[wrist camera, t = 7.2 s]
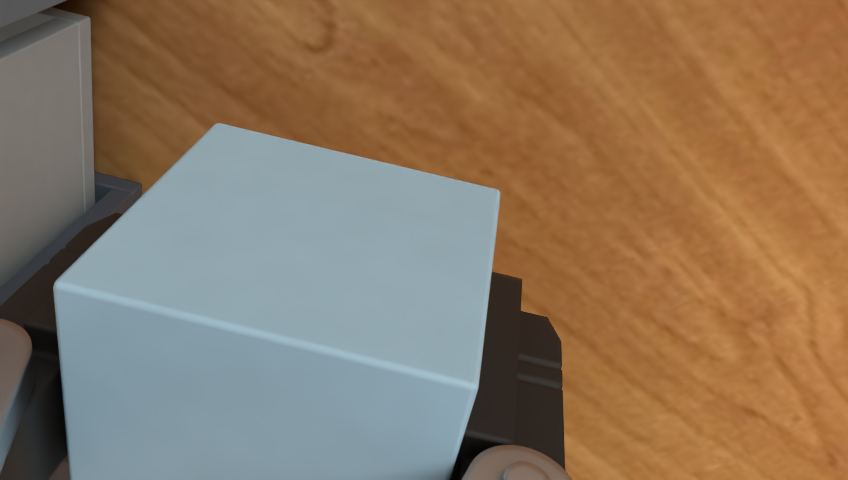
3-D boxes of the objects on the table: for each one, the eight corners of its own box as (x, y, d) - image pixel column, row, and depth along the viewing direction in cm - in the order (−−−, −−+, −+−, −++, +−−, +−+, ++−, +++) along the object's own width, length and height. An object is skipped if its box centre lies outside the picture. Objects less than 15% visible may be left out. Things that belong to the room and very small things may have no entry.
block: (205, 343, 13) (73, 553, 10) (215, 119, 11) (50, 283, 7) (441, 401, 13) (402, 635, 10) (502, 188, 11) (479, 387, 7)
